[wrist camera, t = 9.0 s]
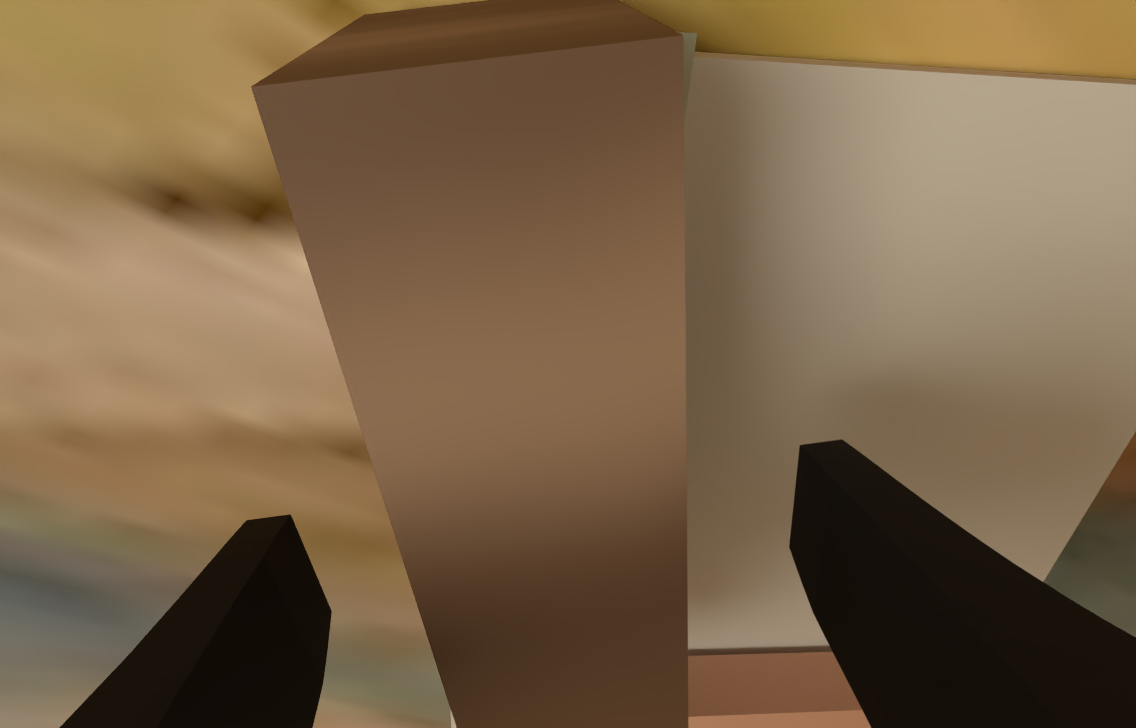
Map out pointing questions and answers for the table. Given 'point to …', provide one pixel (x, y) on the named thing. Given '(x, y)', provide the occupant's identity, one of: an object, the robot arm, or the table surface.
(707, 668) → the tile
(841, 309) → the board
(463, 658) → the bar
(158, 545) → the table surface
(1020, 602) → the robot arm
